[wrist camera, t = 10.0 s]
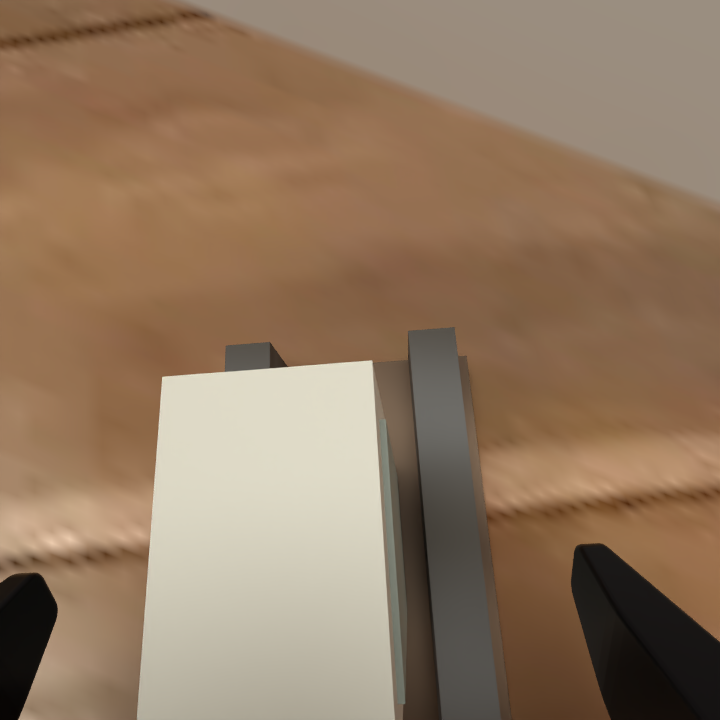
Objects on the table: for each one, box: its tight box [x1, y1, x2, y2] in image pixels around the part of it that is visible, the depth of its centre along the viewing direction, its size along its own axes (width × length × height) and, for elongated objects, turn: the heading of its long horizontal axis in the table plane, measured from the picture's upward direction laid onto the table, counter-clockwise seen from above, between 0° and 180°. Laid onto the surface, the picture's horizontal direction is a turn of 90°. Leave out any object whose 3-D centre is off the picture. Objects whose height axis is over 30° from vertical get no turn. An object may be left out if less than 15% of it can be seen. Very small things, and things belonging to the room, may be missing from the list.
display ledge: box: [225, 327, 512, 720], centre depth 17 cm, size 13×9×4 cm
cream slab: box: [137, 361, 407, 720], centre depth 12 cm, size 5×3×12 cm, turn 3°
